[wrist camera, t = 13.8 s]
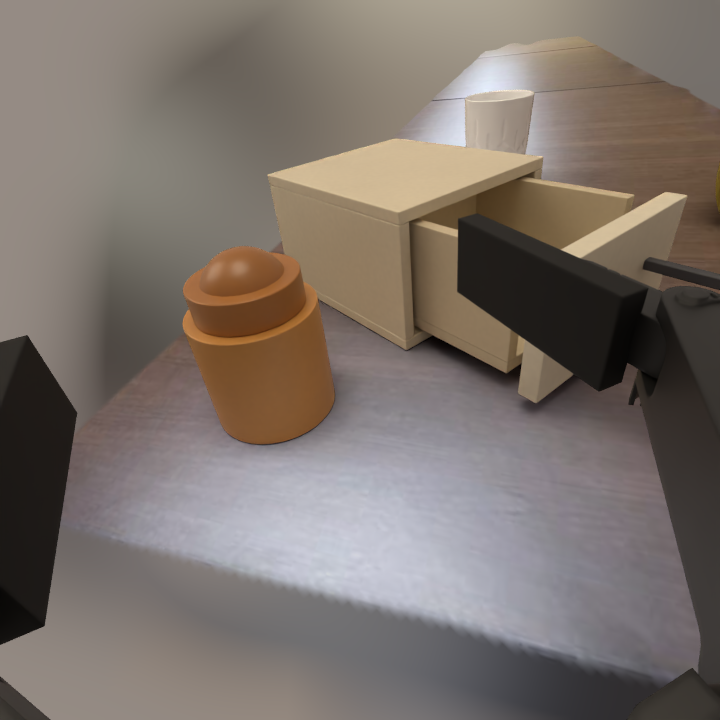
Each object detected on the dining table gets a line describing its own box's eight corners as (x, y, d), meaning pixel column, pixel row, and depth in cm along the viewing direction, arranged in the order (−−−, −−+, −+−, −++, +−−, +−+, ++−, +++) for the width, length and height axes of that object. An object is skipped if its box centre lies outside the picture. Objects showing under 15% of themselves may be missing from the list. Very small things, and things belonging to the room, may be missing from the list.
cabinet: (528, 281, 37) (543, 156, 32) (406, 351, 31) (398, 212, 26) (400, 237, 48) (395, 138, 42) (290, 283, 42) (266, 174, 36)
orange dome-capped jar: (252, 465, 24) (192, 300, 18) (201, 401, 29) (141, 255, 23) (358, 401, 28) (335, 244, 22) (296, 353, 32) (264, 214, 27)
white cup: (508, 194, 55) (515, 100, 49) (451, 188, 60) (452, 101, 54) (535, 176, 60) (545, 89, 54) (481, 171, 64) (484, 90, 58)
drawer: (786, 360, 25) (863, 221, 21) (682, 483, 20) (754, 331, 15) (477, 257, 40) (482, 163, 35) (367, 312, 34) (356, 208, 30)
